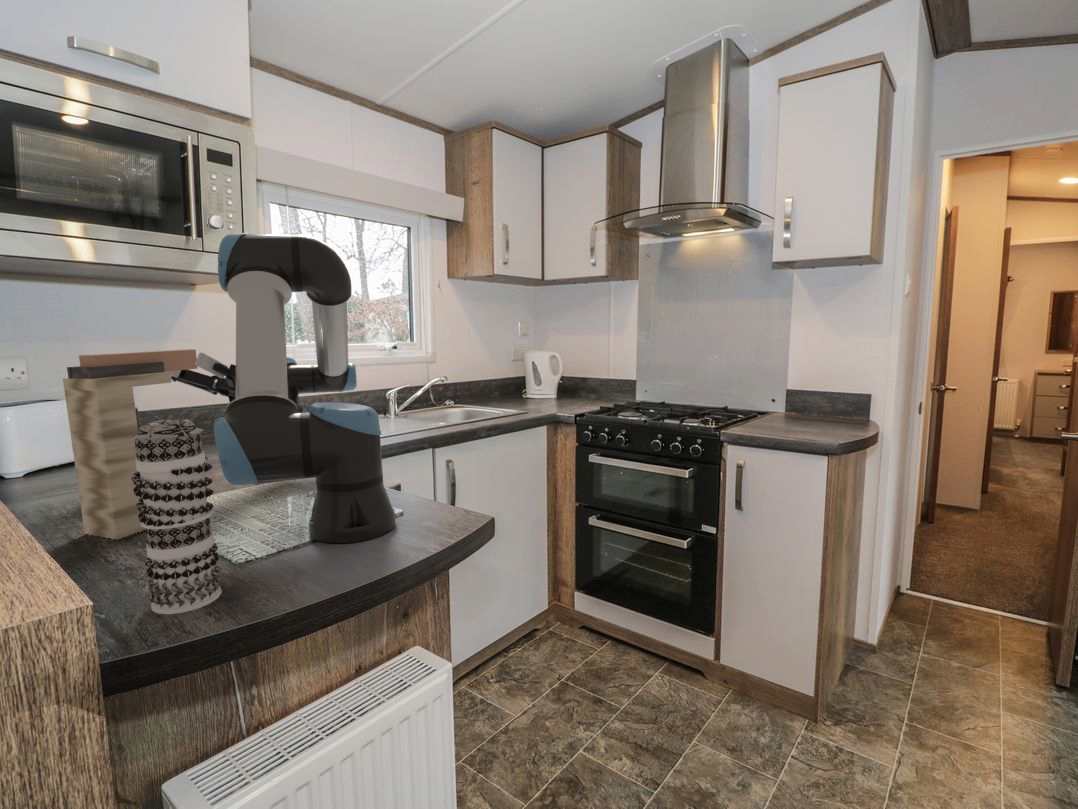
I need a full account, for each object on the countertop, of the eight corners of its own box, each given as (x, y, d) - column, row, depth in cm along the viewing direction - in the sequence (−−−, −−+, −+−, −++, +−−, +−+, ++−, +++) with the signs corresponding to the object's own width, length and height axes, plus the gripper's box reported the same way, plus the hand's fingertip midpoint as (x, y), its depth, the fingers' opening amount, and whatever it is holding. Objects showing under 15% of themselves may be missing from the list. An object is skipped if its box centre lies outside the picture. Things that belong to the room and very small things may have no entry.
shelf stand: (186, 515, 115) (169, 361, 111) (117, 540, 103) (94, 367, 98) (156, 511, 118) (137, 361, 114) (84, 534, 106) (61, 367, 102)
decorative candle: (228, 579, 86) (210, 414, 82) (221, 606, 77) (201, 424, 74) (156, 591, 82) (134, 419, 78) (140, 622, 74) (116, 430, 70)
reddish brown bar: (197, 368, 120) (195, 349, 119) (97, 378, 101) (94, 355, 100) (183, 368, 121) (181, 349, 120) (81, 377, 102) (78, 355, 102)
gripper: (289, 415, 129) (212, 375, 111) (210, 411, 139) (126, 374, 120) (299, 385, 132) (225, 341, 114) (220, 383, 141) (140, 342, 123)
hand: (174, 358), depth 117 cm, fingers open, 13 cm apart
